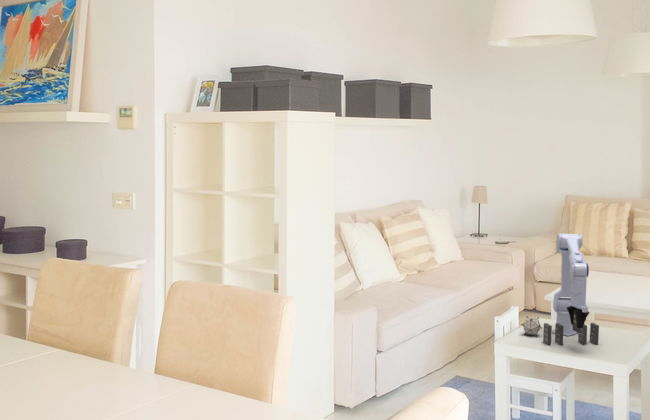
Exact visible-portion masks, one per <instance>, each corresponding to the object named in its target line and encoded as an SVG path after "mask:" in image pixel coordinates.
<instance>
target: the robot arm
mask: <svg viewBox="0 0 650 420" xmlns="http://www.w3.org/2000/svg"><path fill="white" fill-rule="evenodd" d="M583 242H584V241H583V235H582V234H581V233H560V232H559V233H558V234H557V235H556V251H557V252H559V253H560V255H561V271H560V272H561V274H560V275H561V276H560V290H559V291H557V292H555V293H554V295H553V301H552V307H553V311H554V312H555V313H556V321H555V324H556V323H560V324H561V325H563V326H564V330H563V336H566V337H569V336H572V335H575V334H578V333H577V332H575V331H574V330H573V310H574V313H575V316H576V324H577V328H583V326H584V324H585V322H586V319H587V317H588V316H589V314H590V311H589V307H588V306H587V304H586V302H587V301H586V300H587V284H588V283H587V281H588V280H587V278H588V277H589V274H590V265H589V263H588V262H587V261H586V260H585V257H584V255H583V253H582V252H580V250H581V248H582V247H583ZM551 334H555V330H553V331H552V332H551Z"/></svg>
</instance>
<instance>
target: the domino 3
mask: <svg viewBox="0 0 650 420" xmlns="http://www.w3.org/2000/svg"><path fill="white" fill-rule="evenodd" d="M573 330H574V331H575V332H577V333H576V334H578V333H581V328H577V324H576V316H575V313H574V310H573Z"/></svg>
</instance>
